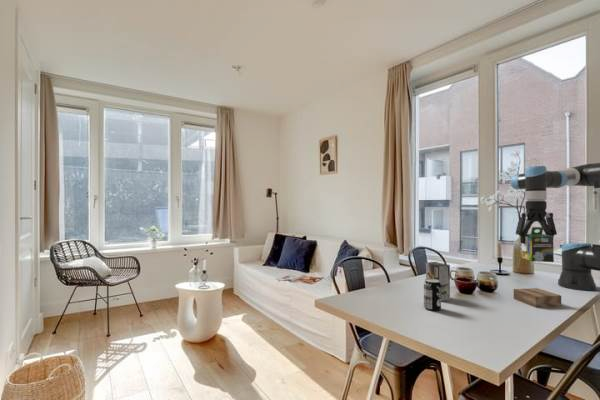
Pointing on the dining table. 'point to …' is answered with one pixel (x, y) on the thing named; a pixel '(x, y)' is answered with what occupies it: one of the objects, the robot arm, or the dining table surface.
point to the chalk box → (538, 247)
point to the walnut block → (537, 297)
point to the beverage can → (432, 294)
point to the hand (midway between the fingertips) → (536, 250)
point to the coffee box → (440, 277)
